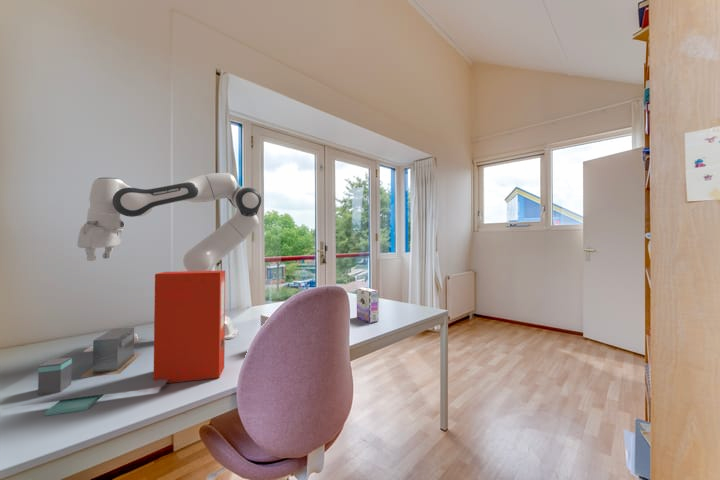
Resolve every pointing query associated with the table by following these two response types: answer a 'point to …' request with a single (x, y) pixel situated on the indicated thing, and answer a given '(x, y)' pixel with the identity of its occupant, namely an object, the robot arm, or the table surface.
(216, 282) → the file binder
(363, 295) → the candy box
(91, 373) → the board
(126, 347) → the panel
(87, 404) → the pad
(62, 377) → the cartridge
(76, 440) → the table surface
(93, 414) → the table surface
